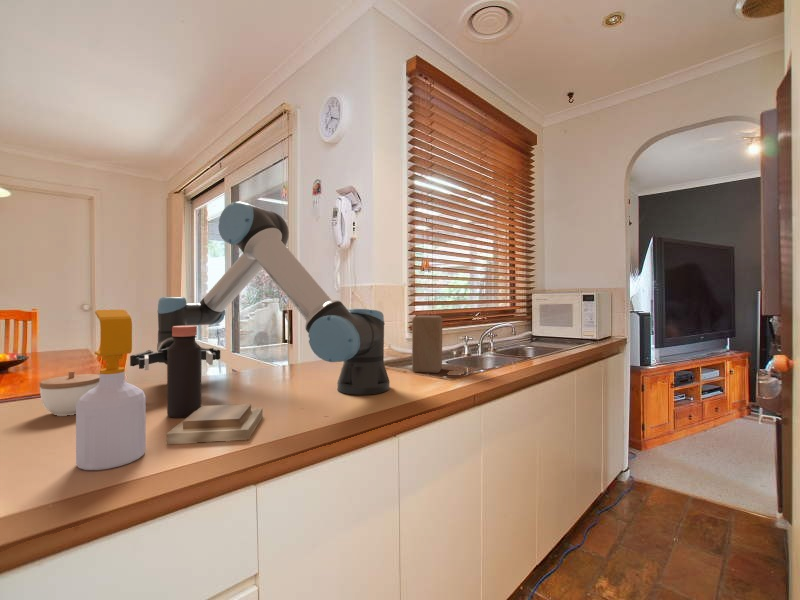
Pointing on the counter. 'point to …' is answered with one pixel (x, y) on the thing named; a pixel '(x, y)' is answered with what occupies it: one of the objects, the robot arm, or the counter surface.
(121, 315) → the soap bottle
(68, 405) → the lidded jar
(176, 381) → the vinegar
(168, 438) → the base
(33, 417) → the counter surface
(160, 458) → the counter surface
